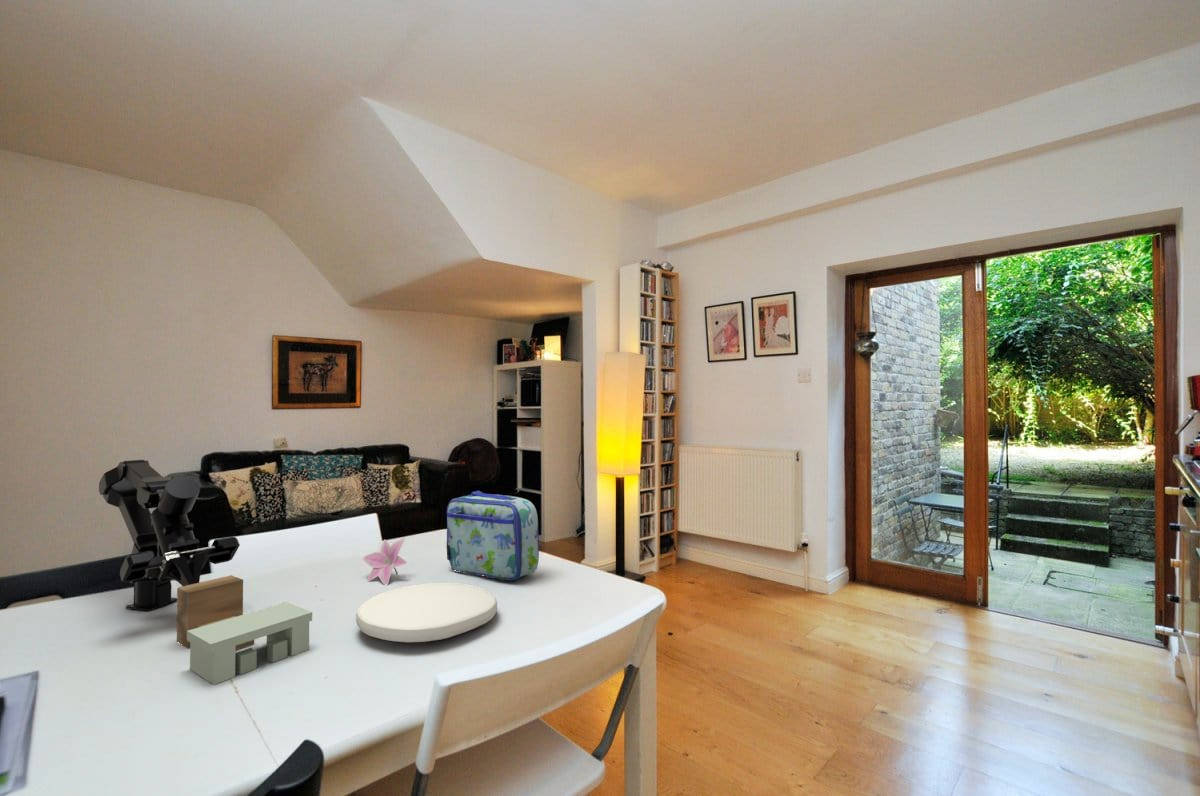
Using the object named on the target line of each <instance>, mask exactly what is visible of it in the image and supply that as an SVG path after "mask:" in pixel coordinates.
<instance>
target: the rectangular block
mask: <svg viewBox="0 0 1200 796" xmlns="http://www.w3.org/2000/svg"><path fill="white" fill-rule="evenodd" d="M176 592H177V594H176V595H177V597H176V598H177V601H176V602H177V603H176V643H178V642H179V643H180V644H179V643H178V644H179V645H181V644H182V645H181V646H183V647H185V648H186V649H190V642H189V641H188V640H187V631H188V630H192V629H195V628H199V627H202V626H206V625H209V624H213V623H216V622H220V621H223V620H226V619H230V618H233V617H237V616H240V615H244V611H243V610H244V579H243V578H240V577H237V576H234V575H232V574H230V575H225V576H223V577H219V578H213V579H208V580H205V581H201V582H200V581H199V583H196V584H191V585H187V586H182V585H181V586H179V587H177V591H176ZM253 645H255V639H254V640H251V641H248V642H245V643H242V644H239V645H236V646H235V651H238V650H241V649H245V648H247V647H250V646H253Z"/></svg>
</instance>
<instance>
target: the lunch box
mask: <svg viewBox="0 0 1200 796" xmlns="http://www.w3.org/2000/svg"><path fill="white" fill-rule="evenodd" d="M539 533H540V532H539V519H538V512H537V509H536V507H535V505H534V504H533V502H532V501H530V500H529V499H526V498H523V497H519V496H512V495H503V494H491V493H484V492H482V491H480V490H476V491H472V492H471V494H468V495H463V496H460V497H455V498H452V499H451V500H450V501H449V502H448V505H447V508H446V557H447V558H446V560H447V561H448V562H449V566H450V568H451V569H452V571H453V570H456V571H460V572H465V573H464V574H468V573H469V575H474V574H475V576H479V575H484V576H488V577H487V578H489V577H493V578H492V579H495V578H498V579H497V580H501V581H508V582H509V581H510V582H515V581H516V580H518V579H519V578H521V577H525V576H527V575H530V574H533V573H534V572H536V570H537V569H538V566H539V560H540V559H539V557H540V555H539V554H540V546H539V545H540V536H539ZM484 576H483V577H484Z"/></svg>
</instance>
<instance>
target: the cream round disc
mask: <svg viewBox="0 0 1200 796" xmlns="http://www.w3.org/2000/svg"><path fill="white" fill-rule="evenodd" d="M497 610H498V601H497V598H496V597H495V595H494V594H493V592H490V591H488V590H486V589H485V588H482V587H480V586H476V585H474V584H467V583H461V582H432V583H431V582H430V583H421V584H420V583H419V584H414V585H408V586H402V587H398V588H394V589H390V590H387V591H385V592H382V593H379V594H376V595H374V596H373V597H370V598H369V599H367V600H366V601H364V602H363V603H362V604H361V605H360V606H359V607H358V609H357V611H356V615H355V617H356V618H355V620H356V621H355V622H356V625H357V627H358V628H359V630H360V631H361V632H362V633H364V634H366V635H367V636H369V637H373V638H377V639H380V640H384V641H390V642H399V643H426V642H433V641H439V640H440V641H441V640H445V639H449V638H452V637H455V636H458V635H461V634H464V633H466V632H469V631H472V630H473V629H476V628H478V627H481V626H482V625H485V624H486V623H488V622H489V621H491V620H492V619H493V618H494V616H495V615H496V613H497Z"/></svg>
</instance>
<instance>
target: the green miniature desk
mask: <svg viewBox="0 0 1200 796" xmlns="http://www.w3.org/2000/svg"><path fill="white" fill-rule="evenodd" d="M312 621H313V611H310V610H308V609H305V608H302V607H300V606H297V605H295V604H292V603H290V602H287V601H286V602H283V603H279V604H276V605H272V606H269V607H265V608H261V609H258V610H255V611H252V612H248V613H243V615H240V616H237V617H233V618H230V619H226V620H223V621H220V622H216V623H213V624H209V625H206V626H202V627H199V628H195V629H192V630H188V631H187V640H188V641H189V642H190V648H189V650H190V651H189V670H190V671H192V672H193V673H195V674H196V675H199V676H200V677H201V678H202V679H204V680H206V681H208V683H210V684H212V685H217V684H219V683H222V682H225V681H227V680H230V679H233V678H235V677H236V674H238V675H240V676H241V675H244V674H246V673H249V672H253V671H254V670H257V658H258V657H257V656H258V655H257V650H256V649H254V648H253V647H249V648H247V649H243V650H240V651H238V652H236V650H235V646H236V645H239V644H242V643H245V642H248V641H251V640H254V641H255V640H257V639H260V638H263V637H266V646H267V647H266V661H268V662H271V663H273V664H274V663H276V662H279V661H282V660H284V659H287V658H288V655H290V656H292V657H293V656H295V655H298V654H300V653H304V652H306V651H309V650H310V622H312Z"/></svg>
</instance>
